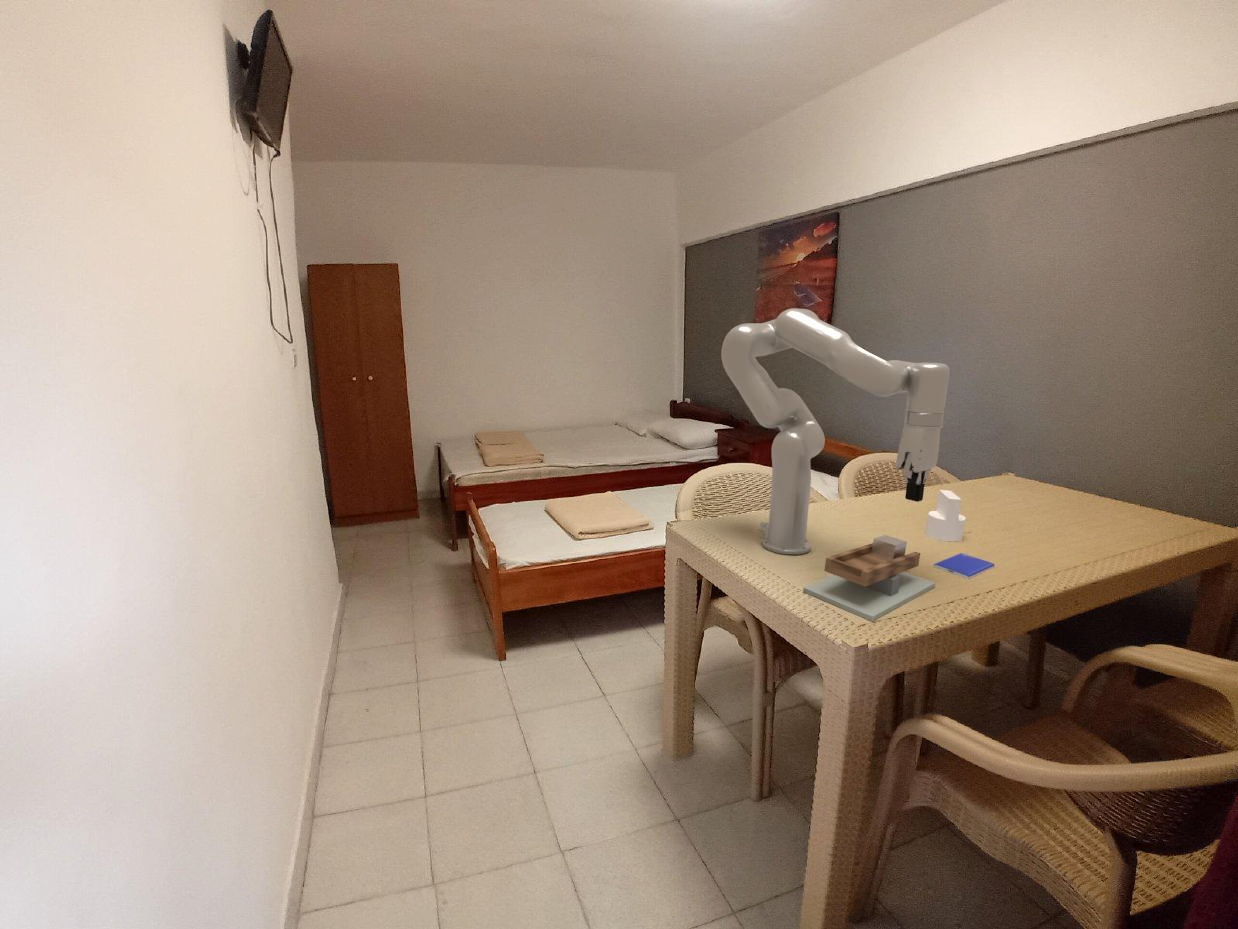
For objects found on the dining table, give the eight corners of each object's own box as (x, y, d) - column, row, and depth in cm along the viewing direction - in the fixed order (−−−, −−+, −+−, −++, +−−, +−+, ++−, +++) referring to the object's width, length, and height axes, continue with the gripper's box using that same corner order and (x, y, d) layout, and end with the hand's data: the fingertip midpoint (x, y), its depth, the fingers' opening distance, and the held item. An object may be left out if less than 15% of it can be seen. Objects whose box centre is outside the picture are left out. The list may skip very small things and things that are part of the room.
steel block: (871, 555, 132) (873, 538, 132) (882, 551, 135) (885, 535, 135) (892, 562, 129) (895, 545, 128) (904, 558, 132) (906, 541, 131)
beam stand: (868, 563, 144) (870, 545, 143) (934, 587, 131) (937, 567, 130) (803, 591, 128) (805, 571, 127) (872, 621, 116) (874, 599, 115)
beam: (878, 552, 139) (880, 540, 138) (918, 566, 132) (920, 553, 131) (824, 570, 126) (826, 557, 125) (865, 586, 118) (867, 572, 118)
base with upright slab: (967, 543, 158) (974, 500, 155) (930, 540, 160) (937, 498, 157) (955, 532, 166) (962, 491, 164) (921, 529, 168) (927, 489, 165)
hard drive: (960, 552, 149) (933, 563, 142) (994, 563, 142) (968, 575, 136) (959, 558, 149) (932, 569, 143) (993, 569, 143) (967, 581, 136)
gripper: (923, 414, 137) (913, 490, 141) (889, 420, 128) (880, 501, 132) (957, 418, 131) (946, 498, 135) (924, 425, 122) (913, 510, 126)
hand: (913, 499), depth 134 cm, fingers closed
